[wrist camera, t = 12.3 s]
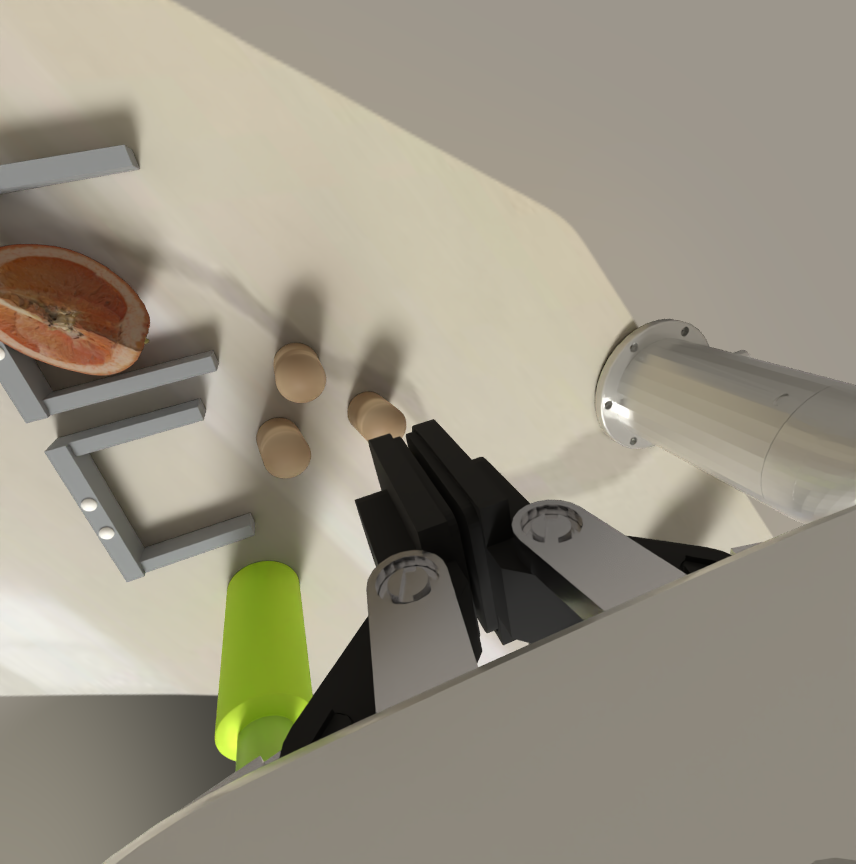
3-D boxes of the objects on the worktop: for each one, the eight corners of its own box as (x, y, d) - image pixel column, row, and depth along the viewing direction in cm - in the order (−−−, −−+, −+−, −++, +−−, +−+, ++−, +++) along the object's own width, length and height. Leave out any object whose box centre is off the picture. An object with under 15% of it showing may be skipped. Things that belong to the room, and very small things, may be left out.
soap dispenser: (207, 572, 38) (165, 857, 21) (295, 554, 40) (323, 801, 23) (220, 626, 41) (193, 923, 23) (303, 607, 43) (334, 868, 25)
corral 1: (131, 149, 27) (121, 143, 25) (218, 363, 33) (216, 372, 31) (-96, 187, 25) (-127, 184, 23) (40, 411, 30) (25, 424, 28)
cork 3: (340, 404, 36) (357, 421, 33) (376, 384, 37) (396, 398, 34) (358, 437, 38) (375, 456, 34) (392, 417, 39) (412, 434, 35)
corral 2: (200, 398, 33) (196, 409, 31) (254, 522, 38) (254, 539, 36) (57, 438, 31) (43, 452, 29) (133, 563, 36) (126, 583, 34)
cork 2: (251, 423, 35) (257, 442, 31) (294, 413, 36) (305, 429, 32) (262, 462, 36) (269, 484, 33) (304, 451, 37) (315, 470, 34)
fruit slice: (174, 293, 30) (161, 304, 26) (136, 384, 32) (117, 409, 27) (18, 219, 27) (-29, 218, 22) (-19, 326, 28) (-69, 344, 24)
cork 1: (311, 337, 34) (317, 349, 31) (324, 378, 36) (331, 394, 32) (267, 349, 33) (268, 363, 30) (282, 390, 35) (284, 408, 31)
